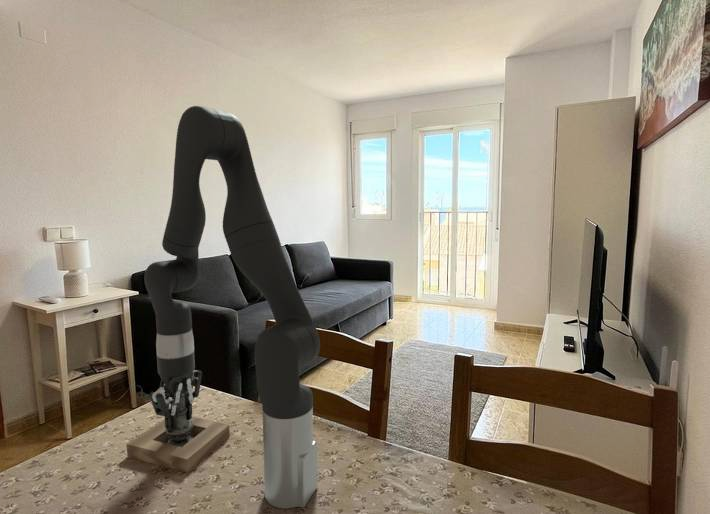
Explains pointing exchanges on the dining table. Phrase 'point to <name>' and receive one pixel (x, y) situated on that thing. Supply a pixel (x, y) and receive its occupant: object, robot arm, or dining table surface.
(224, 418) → the dining table surface
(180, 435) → the grey tall tiered piece
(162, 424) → the tan picture frame
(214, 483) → the dining table surface
